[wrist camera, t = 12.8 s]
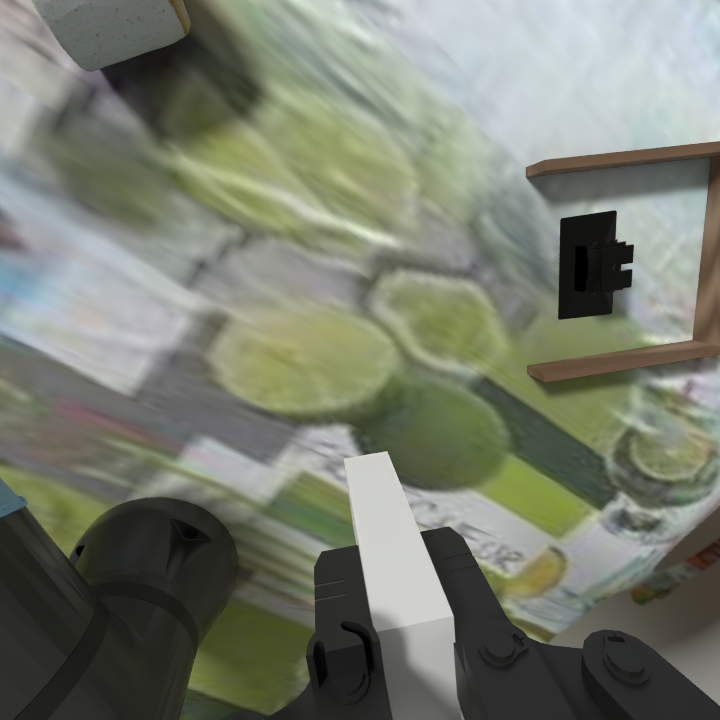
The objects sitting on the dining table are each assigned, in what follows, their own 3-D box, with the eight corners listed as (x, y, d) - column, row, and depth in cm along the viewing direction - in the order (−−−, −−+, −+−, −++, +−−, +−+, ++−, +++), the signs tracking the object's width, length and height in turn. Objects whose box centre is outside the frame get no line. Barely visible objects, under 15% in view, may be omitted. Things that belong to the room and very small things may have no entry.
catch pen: (698, 346, 42) (727, 353, 40) (527, 373, 41) (544, 382, 38) (720, 146, 37) (755, 137, 34) (525, 167, 36) (545, 159, 33)
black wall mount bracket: (612, 324, 41) (649, 333, 37) (544, 334, 41) (573, 344, 36) (620, 193, 38) (662, 186, 33) (546, 202, 37) (578, 195, 33)
